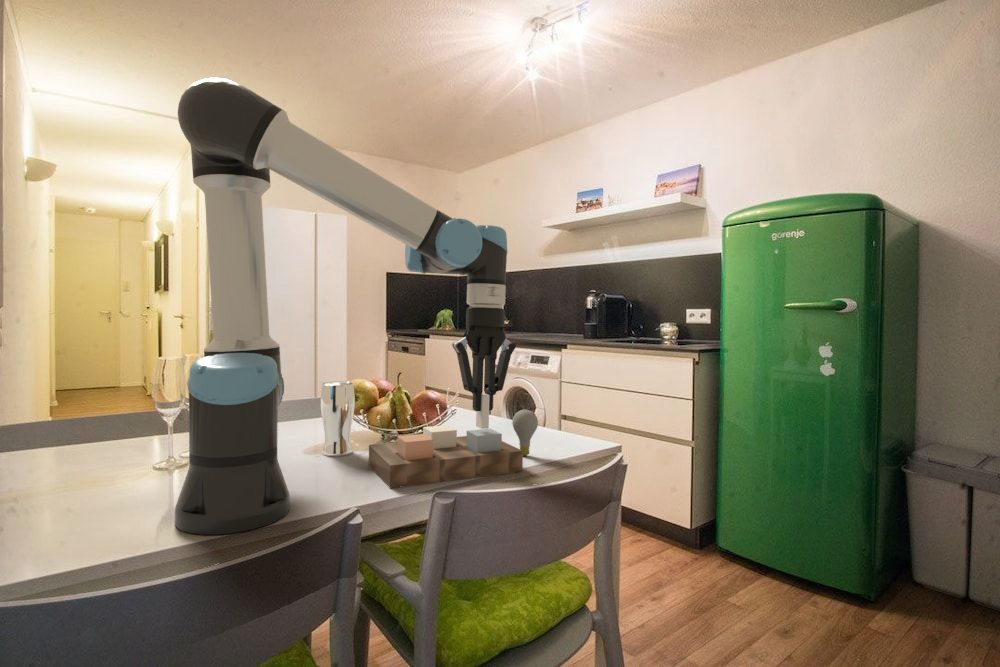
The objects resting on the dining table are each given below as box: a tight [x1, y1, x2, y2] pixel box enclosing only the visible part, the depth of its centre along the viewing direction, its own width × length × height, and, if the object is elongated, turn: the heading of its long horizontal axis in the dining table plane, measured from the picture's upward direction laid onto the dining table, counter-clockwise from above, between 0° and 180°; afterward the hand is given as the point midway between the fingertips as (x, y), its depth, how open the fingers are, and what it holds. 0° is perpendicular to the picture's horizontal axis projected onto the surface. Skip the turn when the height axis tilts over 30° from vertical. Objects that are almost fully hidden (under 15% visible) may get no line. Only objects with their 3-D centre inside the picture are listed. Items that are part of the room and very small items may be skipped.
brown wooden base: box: [368, 435, 524, 489], centre depth 106 cm, size 26×16×4 cm, turn 116°
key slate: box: [466, 428, 503, 453], centre depth 106 cm, size 5×5×5 cm
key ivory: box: [422, 424, 458, 449], centre depth 109 cm, size 5×5×5 cm
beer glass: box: [320, 381, 356, 457], centre depth 116 cm, size 7×7×15 cm
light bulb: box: [511, 409, 539, 457], centre depth 116 cm, size 6×5×10 cm
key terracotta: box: [397, 433, 433, 461], centre depth 100 cm, size 5×5×5 cm
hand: (482, 427), depth 106 cm, fingers closed
